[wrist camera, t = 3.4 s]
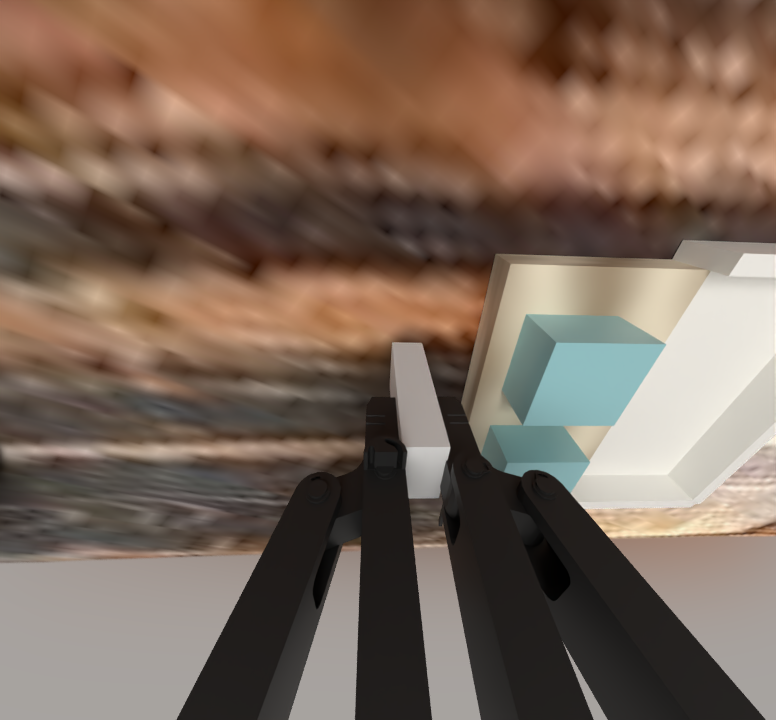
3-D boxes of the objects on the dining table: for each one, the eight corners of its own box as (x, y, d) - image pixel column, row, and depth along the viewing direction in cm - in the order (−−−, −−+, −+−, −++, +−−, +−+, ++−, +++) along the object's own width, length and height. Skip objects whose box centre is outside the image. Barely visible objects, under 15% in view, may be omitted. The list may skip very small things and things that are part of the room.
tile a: (501, 389, 18) (522, 425, 15) (526, 314, 15) (556, 342, 12) (580, 390, 18) (613, 425, 15) (618, 315, 15) (666, 344, 13)
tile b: (475, 472, 22) (488, 511, 20) (490, 425, 19) (507, 462, 17) (538, 471, 22) (559, 509, 20) (562, 425, 20) (590, 462, 17)
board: (445, 470, 25) (450, 492, 23) (495, 253, 15) (510, 263, 14) (557, 469, 26) (570, 490, 24) (675, 259, 16) (711, 270, 14)
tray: (551, 476, 26) (570, 509, 24) (682, 240, 15) (743, 253, 13) (666, 475, 27) (696, 507, 24) (871, 247, 16) (965, 261, 13)
